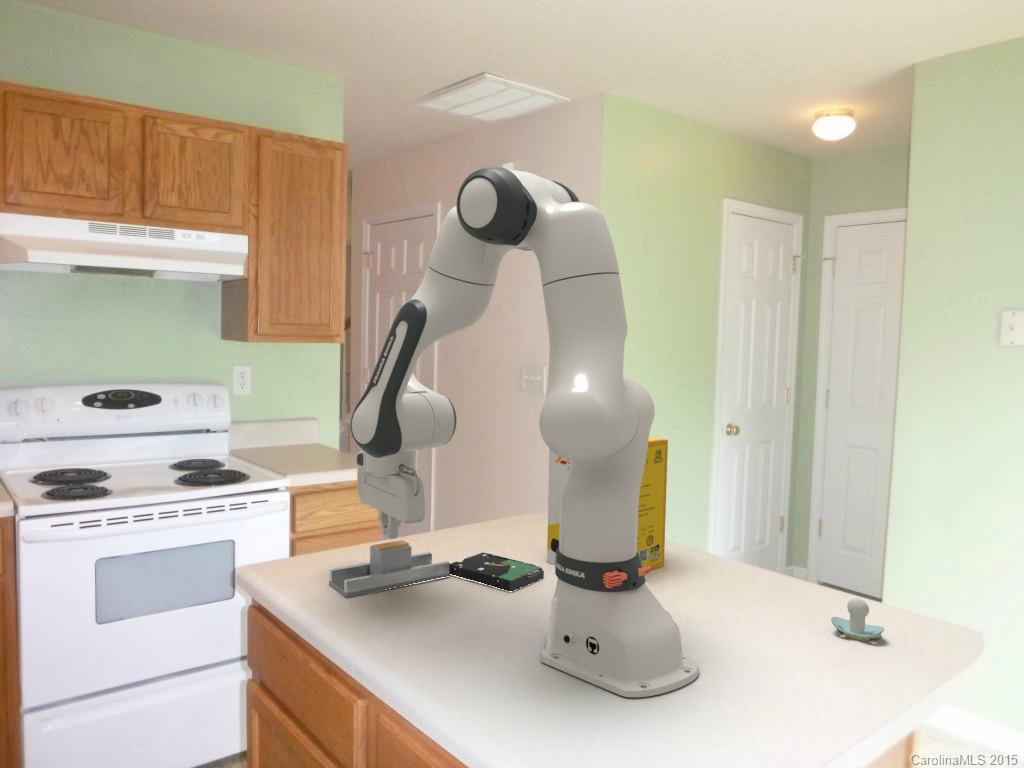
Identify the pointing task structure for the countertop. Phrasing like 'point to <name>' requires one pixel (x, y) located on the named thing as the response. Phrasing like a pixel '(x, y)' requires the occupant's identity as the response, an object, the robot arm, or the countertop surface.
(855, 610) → the pacifier
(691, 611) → the countertop surface
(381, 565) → the module
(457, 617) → the countertop surface
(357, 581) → the rail
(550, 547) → the packaging box
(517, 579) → the disk drive
